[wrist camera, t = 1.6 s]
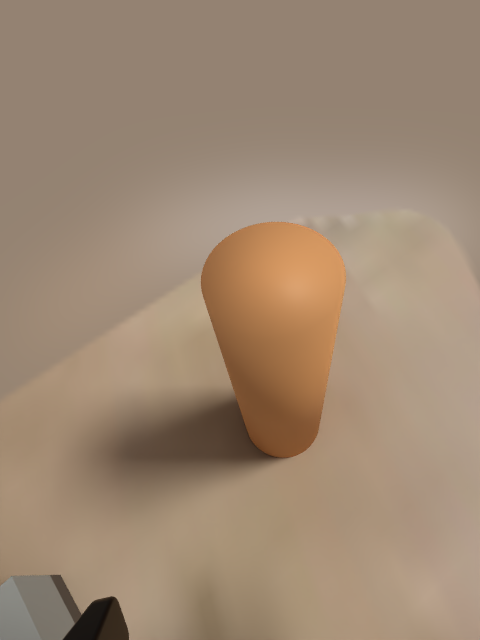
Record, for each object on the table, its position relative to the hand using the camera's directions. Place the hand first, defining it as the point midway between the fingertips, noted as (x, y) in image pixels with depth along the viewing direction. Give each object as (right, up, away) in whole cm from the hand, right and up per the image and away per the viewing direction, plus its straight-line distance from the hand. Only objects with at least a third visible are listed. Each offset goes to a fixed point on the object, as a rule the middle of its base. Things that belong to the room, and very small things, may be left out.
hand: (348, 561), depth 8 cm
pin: (0, -1, +15) cm, 15 cm away
